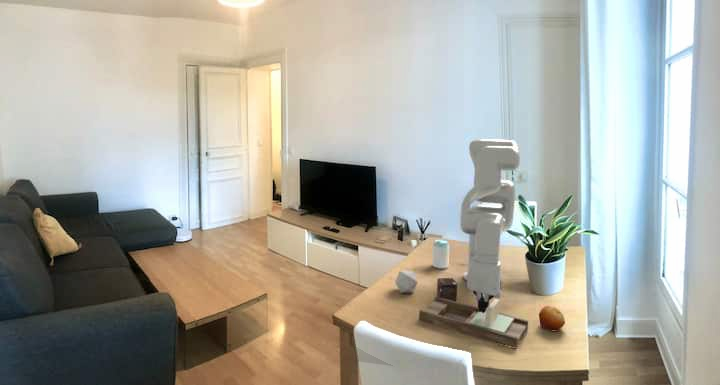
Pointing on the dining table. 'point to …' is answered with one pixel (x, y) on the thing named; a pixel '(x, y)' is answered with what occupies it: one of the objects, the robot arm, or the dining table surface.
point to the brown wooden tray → (460, 316)
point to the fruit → (551, 318)
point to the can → (440, 254)
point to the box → (447, 288)
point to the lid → (492, 318)
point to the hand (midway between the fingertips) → (482, 310)
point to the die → (406, 281)
